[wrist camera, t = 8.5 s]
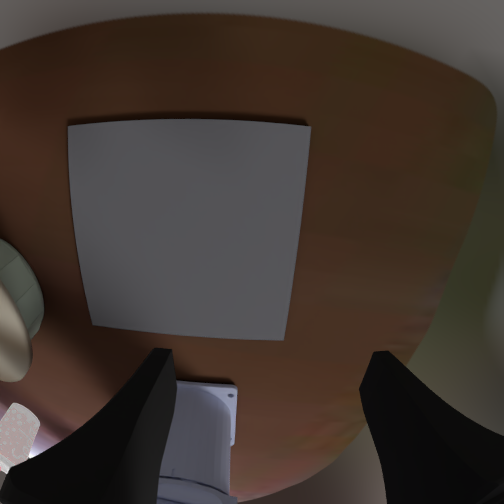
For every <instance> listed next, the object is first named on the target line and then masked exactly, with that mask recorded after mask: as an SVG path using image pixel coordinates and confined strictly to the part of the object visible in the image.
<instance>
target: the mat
mask: <svg viewBox="0 0 504 504" xmlns="http://www.w3.org/2000/svg"><path fill="white" fill-rule="evenodd" d="M310 133H311V127H309V126H300V125H291V124H281V123H269V122H256V121H240V120H215V119H155V120H132V121H116V122H103V123H92V124H82V125H74V126H68V159H69V179H70V193H71V204H72V214H73V222H74V230H75V238H76V245H77V251H78V258H79V263H80V269H81V275H82V280H83V285H84V290H85V295H86V299H87V304H88V308H89V312H90V317H91V321H92V325H96V326H103V327H110V328H118V329H126V330H134V331H143V332H152V333H162V334H173V335H185V336H197V337H212V338H229V339H251V340H284V335H285V329H286V323H287V317H288V310H289V304H290V297H291V290H292V284H293V277H294V270H295V262H296V255H297V248H298V240H299V232H300V225H301V216H302V208H303V200H304V191H305V182H306V173H307V164H308V154H309V144H310Z"/></svg>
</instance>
